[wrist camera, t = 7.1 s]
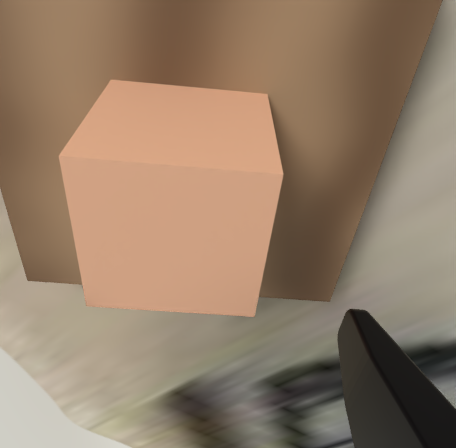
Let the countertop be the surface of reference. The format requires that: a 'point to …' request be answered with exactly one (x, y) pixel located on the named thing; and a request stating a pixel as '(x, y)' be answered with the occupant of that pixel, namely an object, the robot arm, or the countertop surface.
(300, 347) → the countertop surface
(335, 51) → the base board
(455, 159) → the countertop surface
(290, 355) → the countertop surface
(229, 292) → the block
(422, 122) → the countertop surface
